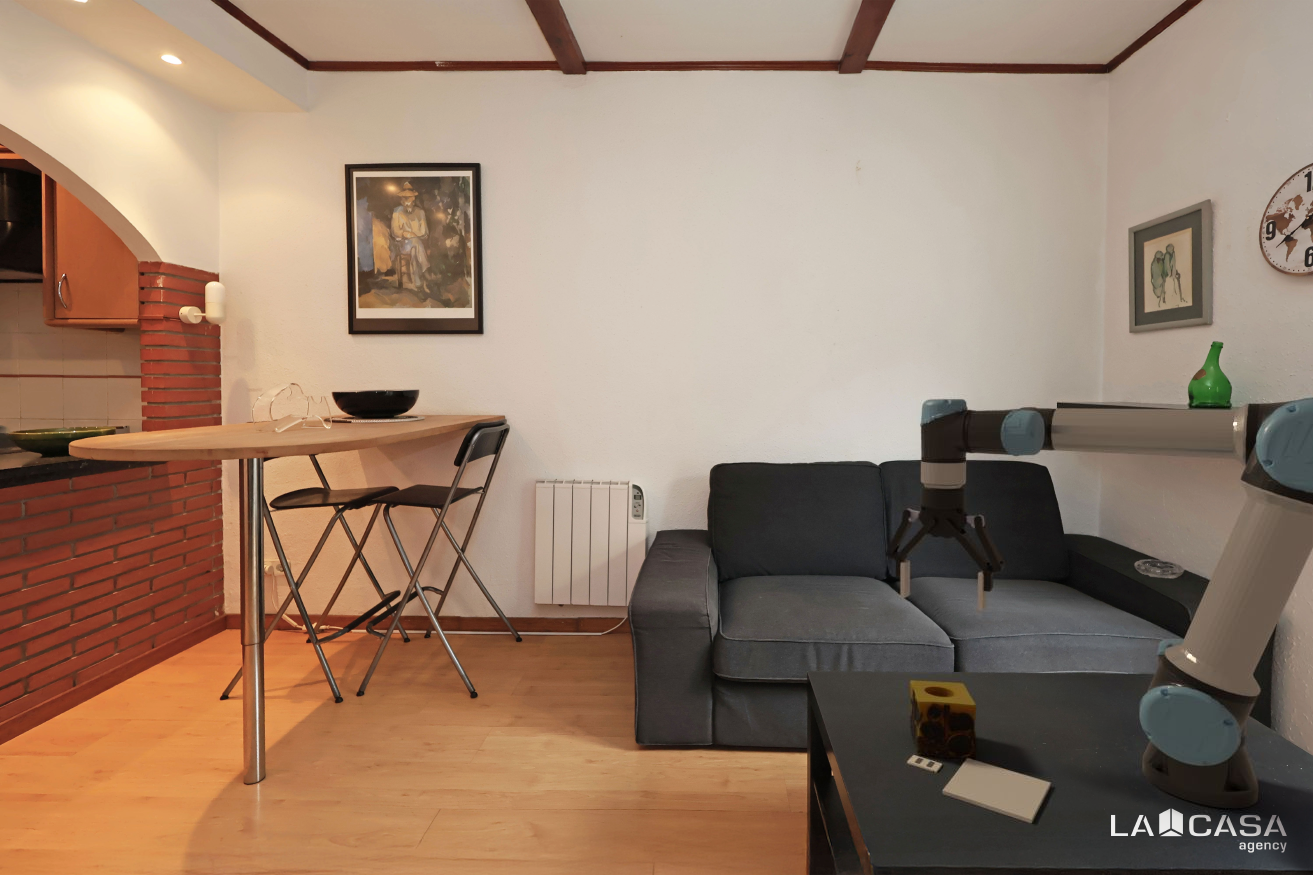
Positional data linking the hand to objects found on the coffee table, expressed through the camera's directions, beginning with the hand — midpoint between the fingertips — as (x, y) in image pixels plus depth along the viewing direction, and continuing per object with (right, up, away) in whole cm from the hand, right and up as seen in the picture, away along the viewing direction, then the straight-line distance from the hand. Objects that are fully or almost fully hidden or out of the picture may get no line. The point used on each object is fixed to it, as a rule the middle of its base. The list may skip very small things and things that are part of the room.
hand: (942, 602), depth 132 cm
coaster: (+3, -27, -14) cm, 31 cm away
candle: (+1, -27, +2) cm, 27 cm away
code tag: (-5, -27, -5) cm, 28 cm away
